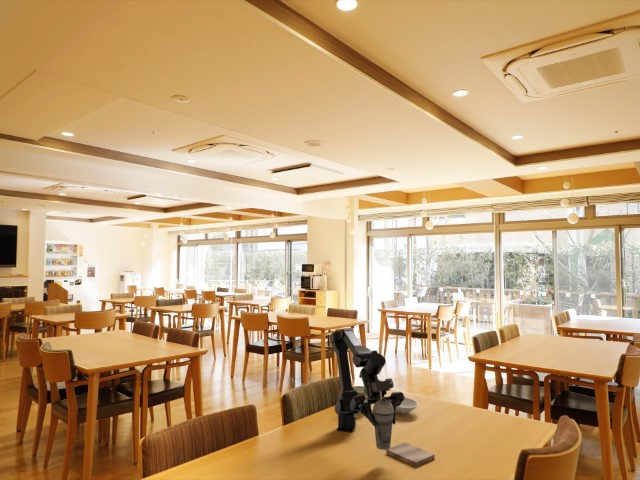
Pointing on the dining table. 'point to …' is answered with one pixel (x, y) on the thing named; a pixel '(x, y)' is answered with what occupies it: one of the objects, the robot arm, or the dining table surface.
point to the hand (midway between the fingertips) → (385, 425)
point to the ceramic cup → (360, 391)
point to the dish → (407, 405)
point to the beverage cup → (383, 422)
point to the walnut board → (410, 454)
